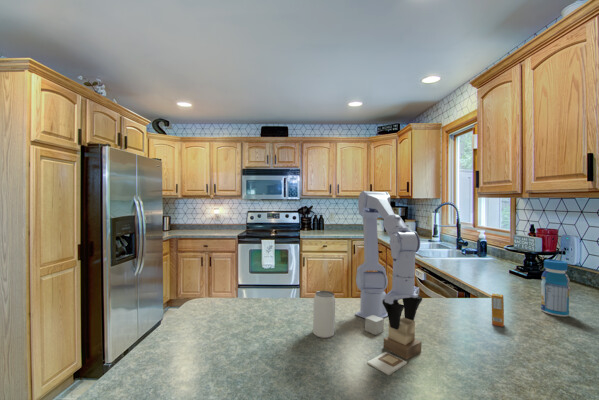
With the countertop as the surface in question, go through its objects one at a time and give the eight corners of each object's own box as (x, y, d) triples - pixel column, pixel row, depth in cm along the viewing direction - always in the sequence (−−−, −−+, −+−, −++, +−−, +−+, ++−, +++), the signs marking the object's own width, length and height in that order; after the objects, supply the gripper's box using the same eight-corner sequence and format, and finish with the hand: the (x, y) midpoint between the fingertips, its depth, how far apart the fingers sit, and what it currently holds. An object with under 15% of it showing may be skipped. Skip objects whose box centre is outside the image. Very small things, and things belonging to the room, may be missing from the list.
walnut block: (398, 342, 82) (398, 332, 82) (421, 353, 77) (421, 341, 77) (383, 349, 78) (383, 338, 78) (406, 361, 73) (406, 349, 73)
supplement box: (491, 321, 99) (492, 292, 99) (504, 324, 97) (504, 295, 97) (490, 324, 97) (491, 294, 97) (503, 327, 94) (503, 297, 95)
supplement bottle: (554, 317, 105) (555, 263, 106) (534, 308, 114) (535, 258, 114) (576, 317, 106) (577, 263, 106) (554, 309, 114) (556, 259, 114)
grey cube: (372, 327, 92) (373, 314, 92) (383, 331, 88) (383, 318, 89) (365, 330, 89) (365, 317, 89) (376, 335, 86) (376, 321, 86)
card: (385, 353, 75) (385, 351, 75) (406, 363, 71) (406, 361, 71) (367, 363, 70) (367, 361, 70) (388, 375, 66) (388, 372, 66)
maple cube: (397, 333, 82) (398, 315, 82) (414, 339, 78) (415, 321, 78) (388, 337, 79) (388, 319, 79) (405, 345, 75) (405, 325, 75)
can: (316, 339, 82) (318, 297, 82) (310, 329, 88) (311, 290, 88) (337, 337, 83) (338, 296, 84) (329, 328, 90) (330, 289, 90)
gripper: (402, 282, 71) (401, 337, 71) (430, 274, 80) (428, 323, 80) (378, 276, 76) (377, 327, 76) (406, 269, 86) (405, 314, 85)
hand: (402, 324), depth 78 cm, fingers open, 7 cm apart
